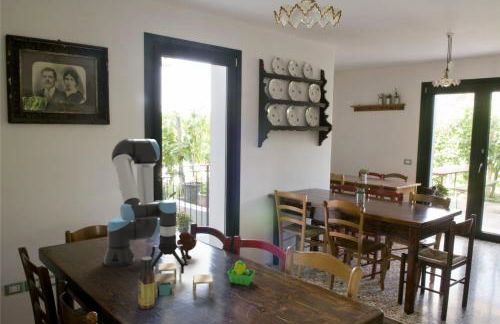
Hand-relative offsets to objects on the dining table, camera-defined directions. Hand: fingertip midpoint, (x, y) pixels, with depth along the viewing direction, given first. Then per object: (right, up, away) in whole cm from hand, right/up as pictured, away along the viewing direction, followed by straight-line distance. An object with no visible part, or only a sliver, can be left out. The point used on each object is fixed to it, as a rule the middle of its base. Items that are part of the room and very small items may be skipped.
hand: (167, 280), depth 176 cm
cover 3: (+18, -2, -13) cm, 22 cm away
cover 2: (+2, -1, -13) cm, 13 cm away
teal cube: (+2, -1, -13) cm, 13 cm away
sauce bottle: (-3, -2, -26) cm, 26 cm away
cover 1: (0, 0, 0) cm, 0 cm away
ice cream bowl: (+4, +2, +33) cm, 33 cm away
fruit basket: (+34, -1, +1) cm, 34 cm away
